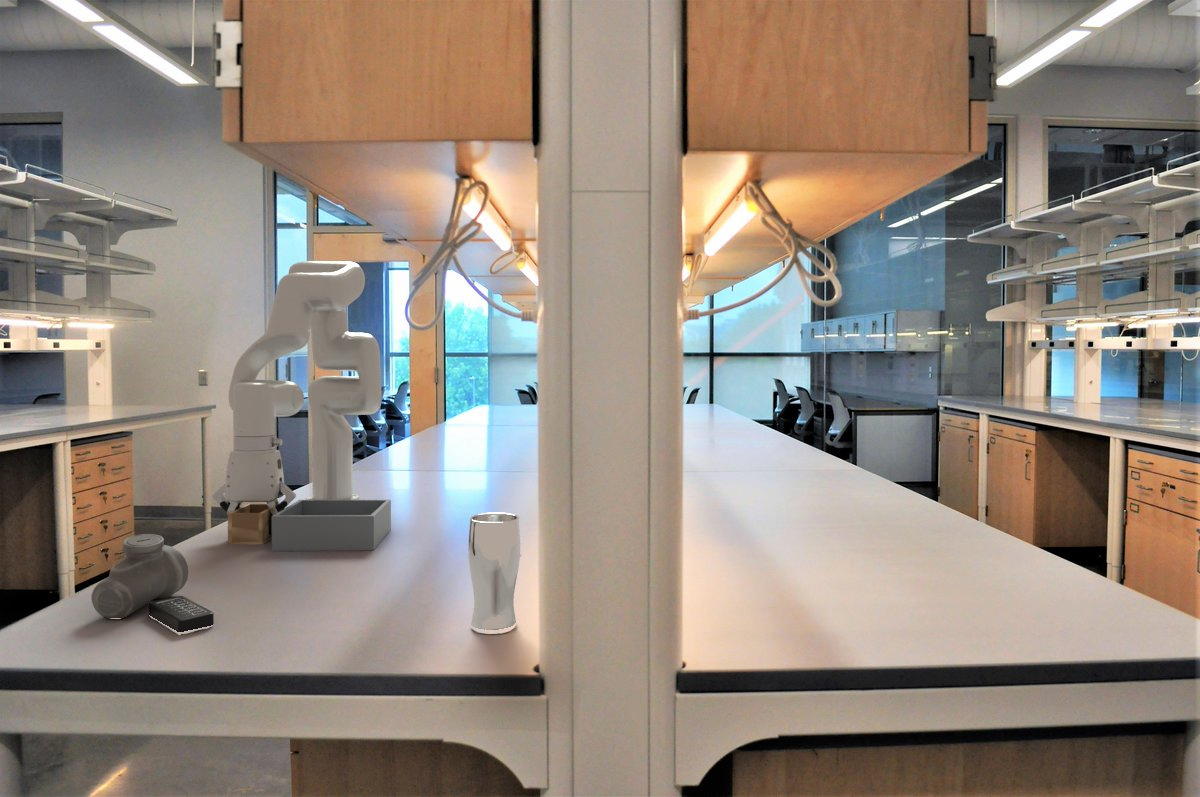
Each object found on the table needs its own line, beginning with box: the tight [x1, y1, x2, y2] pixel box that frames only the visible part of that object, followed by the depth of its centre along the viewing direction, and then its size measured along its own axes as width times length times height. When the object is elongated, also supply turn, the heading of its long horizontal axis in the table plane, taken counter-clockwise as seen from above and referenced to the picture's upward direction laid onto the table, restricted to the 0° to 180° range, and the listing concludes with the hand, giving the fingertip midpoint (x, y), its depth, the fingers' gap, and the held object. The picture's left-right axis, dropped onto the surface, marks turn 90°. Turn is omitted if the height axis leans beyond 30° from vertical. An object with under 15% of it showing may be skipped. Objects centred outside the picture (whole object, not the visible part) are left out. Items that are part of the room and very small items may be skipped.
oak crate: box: [227, 503, 272, 545], centre depth 147 cm, size 10×6×6 cm, turn 5°
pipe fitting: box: [90, 533, 189, 619], centre depth 105 cm, size 12×8×10 cm
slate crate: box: [271, 499, 392, 552], centre depth 147 cm, size 17×19×6 cm
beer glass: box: [467, 512, 521, 630], centre depth 100 cm, size 7×7×15 cm
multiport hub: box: [148, 595, 215, 632], centre depth 100 cm, size 4×11×2 cm, turn 50°
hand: (254, 533), depth 147 cm, fingers closed on oak crate, 6 cm apart
